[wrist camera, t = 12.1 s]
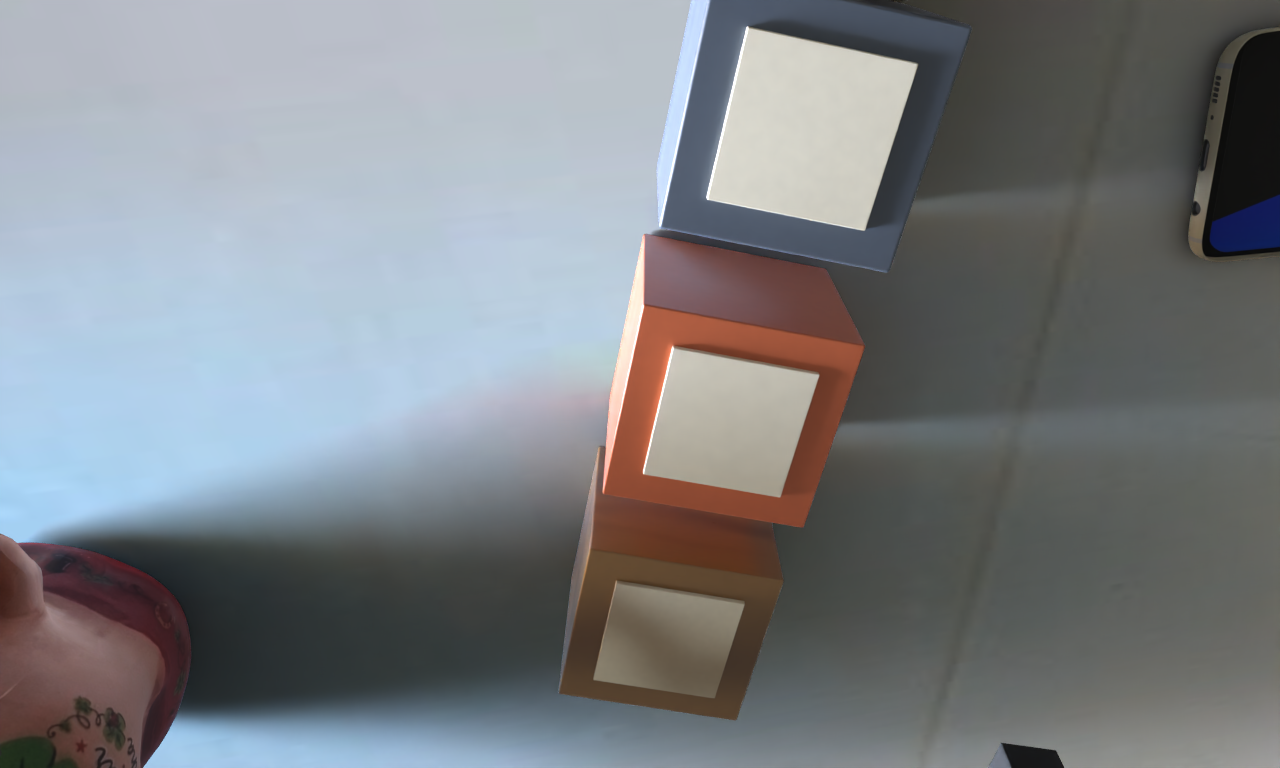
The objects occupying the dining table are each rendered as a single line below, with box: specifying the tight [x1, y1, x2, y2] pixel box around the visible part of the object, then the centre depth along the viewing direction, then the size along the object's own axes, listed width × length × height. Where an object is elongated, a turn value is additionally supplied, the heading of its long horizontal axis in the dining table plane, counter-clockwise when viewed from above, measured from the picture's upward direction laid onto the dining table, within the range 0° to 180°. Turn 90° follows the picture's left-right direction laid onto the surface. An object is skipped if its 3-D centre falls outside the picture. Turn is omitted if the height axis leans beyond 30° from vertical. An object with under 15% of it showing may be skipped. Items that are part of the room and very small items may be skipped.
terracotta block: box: [603, 234, 865, 528], centre depth 28 cm, size 6×6×6 cm
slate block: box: [657, 0, 972, 272], centre depth 24 cm, size 6×6×6 cm
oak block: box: [558, 446, 784, 720], centre depth 31 cm, size 6×6×6 cm
